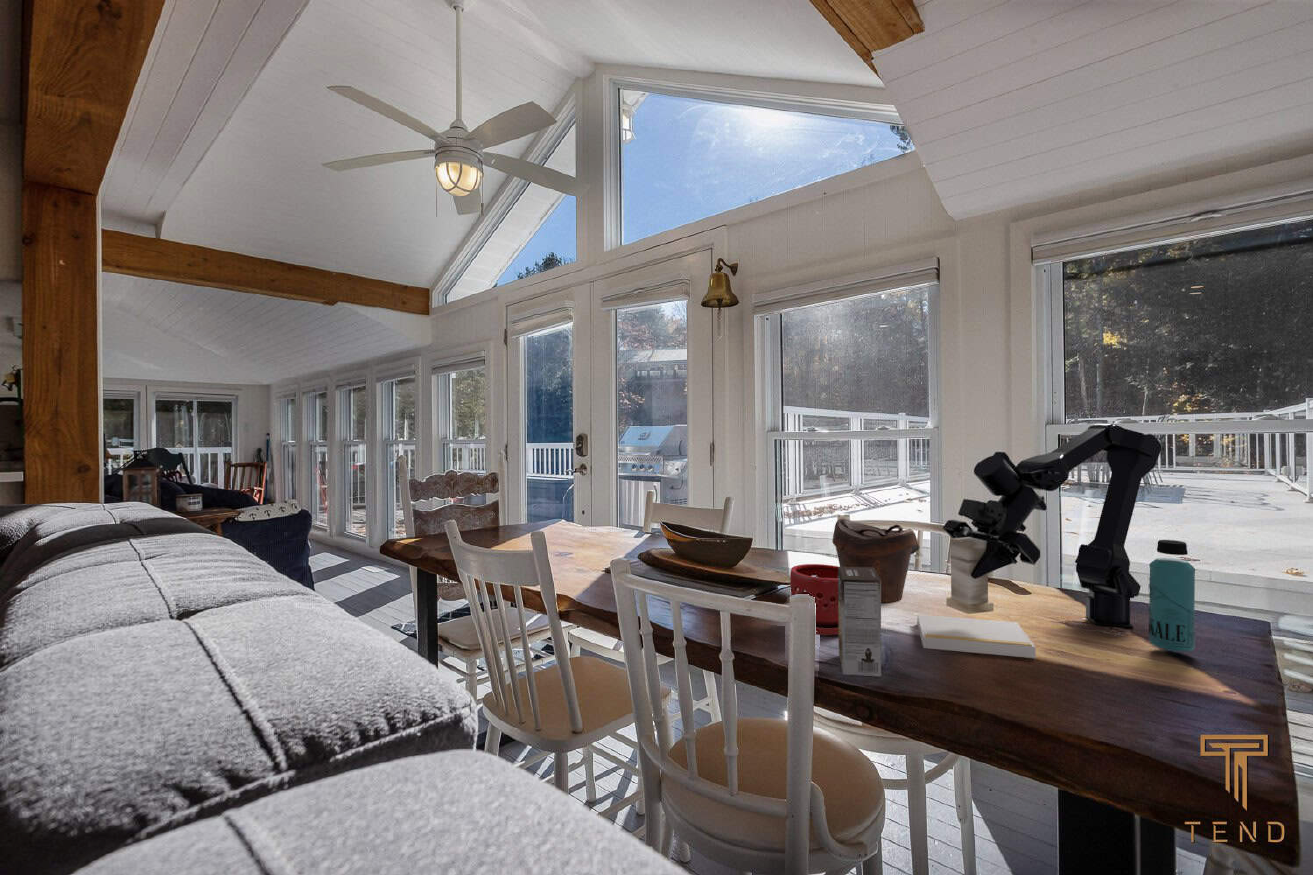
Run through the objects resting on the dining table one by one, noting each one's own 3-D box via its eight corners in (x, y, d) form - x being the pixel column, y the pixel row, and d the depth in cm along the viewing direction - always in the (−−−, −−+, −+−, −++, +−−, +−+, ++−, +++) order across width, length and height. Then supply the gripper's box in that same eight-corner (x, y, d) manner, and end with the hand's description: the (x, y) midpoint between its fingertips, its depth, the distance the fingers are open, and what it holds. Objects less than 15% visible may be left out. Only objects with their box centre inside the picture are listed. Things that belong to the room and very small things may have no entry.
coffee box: (837, 654, 111) (836, 565, 111) (875, 656, 110) (874, 566, 110) (842, 675, 102) (841, 578, 102) (883, 677, 101) (882, 579, 101)
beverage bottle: (1185, 649, 111) (1185, 537, 111) (1204, 662, 105) (1204, 544, 105) (1141, 645, 113) (1141, 536, 113) (1157, 658, 107) (1157, 543, 107)
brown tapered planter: (933, 605, 139) (932, 525, 139) (844, 607, 140) (842, 527, 140) (903, 586, 157) (901, 515, 157) (823, 587, 157) (822, 517, 157)
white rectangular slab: (1017, 632, 121) (1017, 621, 121) (1035, 658, 108) (1035, 645, 108) (917, 624, 127) (917, 613, 127) (923, 647, 114) (923, 635, 114)
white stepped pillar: (970, 602, 121) (970, 536, 120) (993, 611, 115) (992, 541, 115) (946, 605, 119) (945, 538, 119) (968, 614, 114) (967, 543, 113)
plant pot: (818, 644, 117) (817, 580, 116) (777, 624, 129) (777, 566, 128) (872, 633, 122) (871, 573, 122) (828, 615, 134) (828, 560, 134)
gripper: (950, 480, 127) (904, 537, 124) (1026, 488, 109) (975, 556, 106) (982, 516, 129) (938, 573, 126) (1062, 530, 111) (1013, 597, 108)
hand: (963, 574), depth 117 cm, fingers closed on white stepped pillar, 4 cm apart
